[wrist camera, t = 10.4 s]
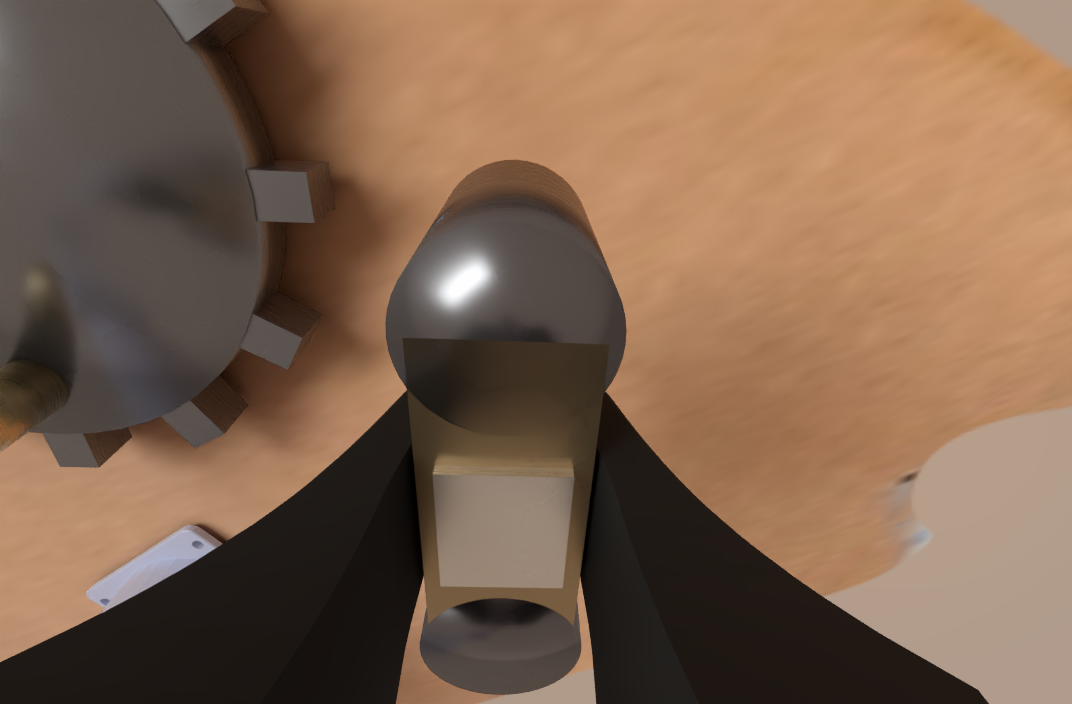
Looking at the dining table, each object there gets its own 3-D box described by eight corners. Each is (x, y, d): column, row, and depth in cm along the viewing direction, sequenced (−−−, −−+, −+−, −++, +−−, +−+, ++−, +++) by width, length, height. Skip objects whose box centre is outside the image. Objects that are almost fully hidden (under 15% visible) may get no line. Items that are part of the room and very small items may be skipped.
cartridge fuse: (436, 156, 10) (367, 220, 5) (595, 163, 10) (646, 232, 6) (453, 520, 14) (422, 704, 10) (561, 522, 14) (575, 705, 10)
